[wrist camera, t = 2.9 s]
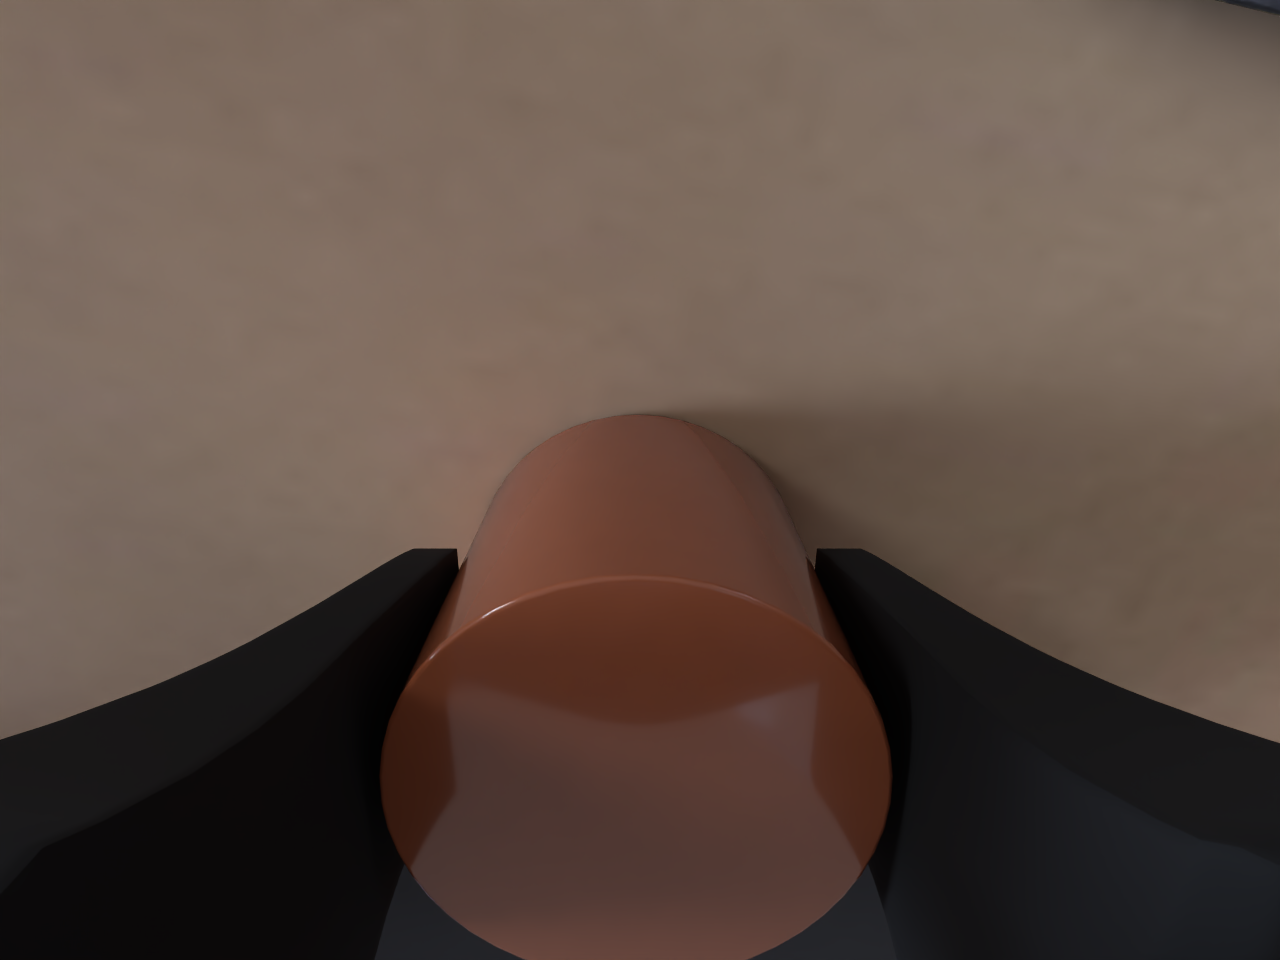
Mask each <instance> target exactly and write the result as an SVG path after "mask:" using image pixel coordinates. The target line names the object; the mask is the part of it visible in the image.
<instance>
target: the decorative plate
mask: <svg viewBox="0 0 1280 960" xmlns="http://www.w3.org/2000/svg"><path fill="white" fill-rule="evenodd" d="M1217 1H1221V2H1225V3H1230V4H1234V5H1238V6H1242V7H1246V8H1250V9H1254V10H1259V11H1263V12H1267V13H1271V14H1275V15H1279V16H1280V0H1217Z"/></svg>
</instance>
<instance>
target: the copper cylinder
mask: <svg viewBox="0 0 1280 960" xmlns="http://www.w3.org/2000/svg"><path fill="white" fill-rule="evenodd" d="M379 779H380V793H381V803H382V807H383V811H384V816H385V820H386V824H387V828H388V830H389V833H390V835H391V838H392V840H393V843H394V845H395V847H396V850H397V852H398V854H399V856H400V857H401V859H402V861H403V862H404V864H405V866H406V867H407V869H408V871H409V872H410V874H411V875H412V877H413V878H414V879H415V880H416V882H417V883H418V884H419V885H420V887H421V888H422V889H423V890H424V892H425V893H426V894H427V895H428V896H429V897H430V898H431V899H432V900H433V901H434V902H435V903H436V904H437V905H438V906H439V907H440V908H441V909H442V910H443V911H444V912H445V913H446V914H447V915H448V916H450V917H451V918H452V919H454V920H455V921H456V922H458V923H459V924H460V925H462V926H463V927H464V928H466V929H467V930H468V931H470V932H471V933H473V934H475V935H476V936H478V937H480V938H481V939H483V940H485V941H487V942H488V943H490V944H492V945H493V946H495V947H497V948H499V949H502V950H504V951H506V952H508V953H510V954H513V955H515V956H517V957H519V958H522V959H525V960H748V959H751V958H754V957H756V956H758V955H760V954H762V953H765V952H767V951H769V950H771V949H773V948H776V947H778V946H779V945H781V944H783V943H785V942H786V941H788V940H790V939H791V938H793V937H795V936H796V935H798V934H800V933H802V932H803V931H804V930H806V929H807V928H808V927H810V926H811V925H812V924H814V923H815V922H816V921H818V920H819V919H820V918H822V917H823V916H824V915H825V914H826V913H827V912H828V911H830V910H831V909H832V908H833V907H834V906H835V905H836V904H837V903H838V902H839V901H840V900H841V899H842V898H843V897H844V896H845V895H846V894H847V892H848V891H849V890H850V889H851V887H852V886H853V885H854V884H855V882H856V881H857V880H858V879H859V877H860V876H861V875H862V873H863V871H864V870H865V868H866V866H867V865H868V863H869V861H870V860H871V858H872V856H873V855H874V853H875V851H876V848H877V846H878V843H879V841H880V839H881V836H882V834H883V831H884V829H885V825H886V821H887V817H888V812H889V808H890V804H891V795H892V781H893V768H892V758H891V747H890V743H889V739H888V736H887V732H886V728H885V725H884V721H883V718H882V716H881V714H880V712H879V710H878V707H877V705H876V703H875V701H874V699H873V697H872V694H871V692H870V690H869V688H868V686H867V683H866V681H865V679H864V677H863V675H862V673H861V670H860V668H859V666H858V664H857V662H856V659H855V657H854V655H853V653H852V651H851V649H850V646H849V644H848V642H847V640H846V638H845V635H844V633H843V631H842V629H841V627H840V625H839V622H838V620H837V618H836V616H835V614H834V611H833V609H832V607H831V605H830V603H829V601H828V598H827V596H826V594H825V592H824V590H823V587H822V585H821V583H820V581H819V579H818V577H817V574H816V572H815V570H814V568H813V566H812V563H811V561H810V559H809V557H808V555H807V553H806V550H805V548H804V546H803V544H802V542H801V540H800V537H799V535H798V533H797V531H796V529H795V526H794V524H793V522H792V520H791V518H790V516H789V513H788V511H787V509H786V507H785V505H784V502H783V500H782V498H781V496H780V494H779V492H778V491H777V489H776V488H775V486H774V485H773V483H772V481H771V480H770V478H769V477H768V476H767V475H766V473H765V472H764V471H763V470H762V469H761V468H760V467H759V465H758V464H757V463H756V462H755V461H754V460H753V459H751V458H750V457H749V456H748V455H747V454H746V453H745V452H743V451H742V450H741V449H740V448H739V447H737V446H735V445H734V444H732V443H731V442H729V441H728V440H726V439H725V438H723V437H722V436H720V435H718V434H715V433H713V432H711V431H709V430H707V429H705V428H703V427H700V426H697V425H694V424H691V423H688V422H685V421H682V420H677V419H672V418H667V417H661V416H649V415H625V416H613V417H608V418H603V419H598V420H593V421H590V422H587V423H584V424H581V425H578V426H575V427H572V428H570V429H568V430H566V431H564V432H561V433H559V434H557V435H555V436H553V437H552V438H550V439H549V440H547V441H545V442H544V443H542V444H541V445H539V446H538V447H536V448H535V449H534V450H533V451H531V452H530V453H529V454H528V455H527V456H526V457H525V458H523V459H522V460H521V461H520V462H519V463H518V464H517V465H516V467H515V468H514V469H513V470H512V471H511V472H510V473H509V475H508V476H507V477H506V478H505V480H504V481H503V483H502V485H501V486H500V488H499V489H498V491H497V492H496V494H495V496H494V498H493V500H492V502H491V504H490V506H489V509H488V511H487V513H486V515H485V517H484V519H483V521H482V523H481V525H480V527H479V530H478V532H477V534H476V536H475V538H474V540H473V542H472V544H471V546H470V549H469V551H468V553H467V555H466V557H465V559H464V561H463V563H462V565H461V567H460V570H459V572H458V574H457V576H456V578H455V580H454V582H453V584H452V586H451V589H450V591H449V593H448V595H447V597H446V599H445V601H444V603H443V605H442V607H441V610H440V612H439V614H438V616H437V618H436V620H435V622H434V624H433V626H432V629H431V631H430V633H429V635H428V637H427V639H426V641H425V643H424V645H423V647H422V650H421V652H420V654H419V656H418V658H417V660H416V662H415V664H414V666H413V669H412V671H411V673H410V675H409V677H408V679H407V681H406V683H405V685H404V687H403V690H402V692H401V694H400V696H399V698H398V700H397V703H396V705H395V707H394V709H393V711H392V714H391V716H390V718H389V720H388V724H387V728H386V732H385V735H384V739H383V743H382V747H381V758H380V768H379Z"/></svg>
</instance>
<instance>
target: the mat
mask: <svg viewBox="0 0 1280 960" xmlns="http://www.w3.org/2000/svg"><path fill="white" fill-rule="evenodd" d="M375 960H525V959H522V958H519V957H517V956H515V955H513V954H510V953H508V952H506V951H504V950H502V949H499V948H497V947H495V946H493V945H492V944H490V943H488V942H487V941H485V940H483V939H481V938H480V937H478V936H476V935H475V934H473V933H471V932H470V931H468V930H467V929H466V928H464V927H463V926H462V925H460V924H459V923H458V922H456V921H455V920H454V919H452V918H451V917H450V916H448V915H447V914H446V913H445V912H444V911H443V910H442V909H441V908H440V907H439V906H438V905H437V904H436V903H435V902H434V901H433V900H432V899H431V898H430V897H429V896H428V895H427V894H426V893H425V892H424V890H423V889H422V888H421V887H420V885H419V884H418V883H417V882H416V880H415V879H414V878H413V877H412V875H411V874H410V872H409V871H408V869H407V867H406V866H405V864H404V867H403V870H402V872H401V875H400V877H399V880H398V883H397V886H396V889H395V892H394V895H393V898H392V901H391V904H390V907H389V910H388V913H387V916H386V920H385V923H384V927H383V931H382V934H381V938H380V942H379V945H378V949H377V953H376V956H375ZM748 960H897V957H896V953H895V950H894V946H893V942H892V938H891V935H890V931H889V927H888V923H887V919H886V916H885V912H884V909H883V906H882V903H881V900H880V897H879V894H878V891H877V888H876V885H875V882H874V879H873V876H872V874H871V871H870V868H869V866H868V865H867V866H866V868H865V870H864V871H863V873H862V875H861V876H860V877H859V879H858V880H857V881H856V882H855V884H854V885H853V886H852V887H851V889H850V890H849V891H848V892H847V894H846V895H845V896H844V897H843V898H842V899H841V900H840V901H839V902H838V903H837V904H836V905H835V906H834V907H833V908H832V909H831V910H830V911H828V912H827V913H826V914H825V915H824V916H823V917H822V918H820V919H819V920H818V921H816V922H815V923H814V924H812V925H811V926H810V927H808V928H807V929H806V930H804V931H803V932H802V933H800V934H798V935H796V936H795V937H793V938H791V939H790V940H788V941H786V942H785V943H783V944H781V945H779V946H778V947H776V948H773V949H771V950H769V951H767V952H765V953H762V954H760V955H758V956H756V957H754V958H751V959H748Z"/></svg>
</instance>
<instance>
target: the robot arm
mask: <svg viewBox="0 0 1280 960" xmlns="http://www.w3.org/2000/svg"><path fill="white" fill-rule="evenodd" d="M458 572H459V566H458V556H457V549H412V550H409V551H407V552H405V553H403V554H401V555H399V556H397V557H395V558H394V559H392V560H390V561H388V562H387V563H385V564H383V565H382V566H380V567H378V568H377V569H375V570H373V571H372V572H370V573H368V574H367V575H365V576H363V577H362V578H360V579H358V580H357V581H355V582H354V583H352V584H350V585H349V586H347V587H345V588H344V589H342V590H340V591H339V592H337V593H335V594H334V595H332V596H330V597H329V598H327V599H325V600H324V601H322V602H320V603H319V604H317V605H315V606H314V607H312V608H310V609H308V610H307V611H305V612H303V613H301V614H299V615H297V616H296V617H294V618H292V619H290V620H288V621H287V622H285V623H283V624H281V625H279V626H277V627H276V628H274V629H272V630H270V631H268V632H267V633H265V634H263V635H261V636H259V637H257V638H256V639H254V640H252V641H250V642H248V643H246V644H244V645H242V646H240V647H238V648H236V649H234V650H232V651H230V652H228V653H226V654H224V655H222V656H220V657H218V658H216V659H213V660H211V661H209V662H207V663H205V664H202V665H200V666H198V667H196V668H193V669H191V670H189V671H187V672H184V673H182V674H180V675H178V676H175V677H173V678H171V679H169V680H166V681H164V682H161V683H159V684H157V685H154V686H152V687H149V688H147V689H144V690H141V691H138V692H136V693H133V694H130V695H128V696H125V697H122V698H120V699H117V700H114V701H111V702H109V703H106V704H103V705H101V706H98V707H95V708H93V709H90V710H87V711H85V712H82V713H79V714H76V715H74V716H71V717H68V718H66V719H63V720H60V721H57V722H54V723H51V724H48V725H45V726H42V727H39V728H36V729H33V730H30V731H26V732H23V733H20V734H17V735H14V736H11V737H7V738H4V739H1V740H0V960H375V956H376V953H377V949H378V945H379V942H380V938H381V934H382V931H383V927H384V923H385V920H386V916H387V913H388V910H389V907H390V904H391V901H392V898H393V895H394V892H395V889H396V886H397V883H398V880H399V877H400V875H401V872H402V870H403V867H404V862H403V861H402V859H401V857H400V856H399V854H398V852H397V850H396V847H395V845H394V843H393V840H392V838H391V835H390V833H389V830H388V828H387V824H386V820H385V816H384V811H383V807H382V803H381V793H380V779H379V768H380V758H381V747H382V743H383V739H384V735H385V732H386V728H387V724H388V720H389V718H390V716H391V714H392V711H393V709H394V707H395V705H396V703H397V700H398V698H399V696H400V694H401V692H402V690H403V687H404V685H405V683H406V681H407V679H408V677H409V675H410V673H411V671H412V669H413V666H414V664H415V662H416V660H417V658H418V656H419V654H420V652H421V650H422V647H423V645H424V643H425V641H426V639H427V637H428V635H429V633H430V631H431V629H432V626H433V624H434V622H435V620H436V618H437V616H438V614H439V612H440V610H441V607H442V605H443V603H444V601H445V599H446V597H447V595H448V593H449V591H450V589H451V586H452V584H453V582H454V580H455V578H456V576H457V574H458ZM815 572H816V574H817V577H818V579H819V581H820V583H821V585H822V587H823V590H824V592H825V594H826V596H827V598H828V601H829V603H830V605H831V607H832V609H833V611H834V614H835V616H836V618H837V620H838V622H839V625H840V627H841V629H842V631H843V633H844V635H845V638H846V640H847V642H848V644H849V646H850V649H851V651H852V653H853V655H854V657H855V659H856V662H857V664H858V666H859V668H860V670H861V673H862V675H863V677H864V679H865V681H866V683H867V686H868V688H869V690H870V692H871V694H872V697H873V699H874V701H875V703H876V705H877V707H878V710H879V712H880V714H881V716H882V718H883V721H884V725H885V728H886V732H887V736H888V739H889V743H890V747H891V758H892V768H893V781H892V795H891V804H890V808H889V812H888V817H887V821H886V825H885V829H884V831H883V834H882V836H881V839H880V841H879V843H878V846H877V848H876V851H875V853H874V855H873V856H872V858H871V860H870V861H869V863H868V866H869V868H870V871H871V874H872V876H873V879H874V882H875V885H876V888H877V891H878V894H879V897H880V900H881V903H882V906H883V909H884V912H885V916H886V919H887V923H888V927H889V931H890V935H891V938H892V942H893V946H894V950H895V953H896V957H897V960H1280V743H1277V742H1274V741H1271V740H1267V739H1264V738H1261V737H1258V736H1255V735H1252V734H1249V733H1246V732H1243V731H1239V730H1236V729H1233V728H1230V727H1227V726H1224V725H1221V724H1218V723H1215V722H1212V721H1209V720H1207V719H1204V718H1201V717H1198V716H1196V715H1193V714H1190V713H1187V712H1185V711H1182V710H1179V709H1176V708H1174V707H1171V706H1168V705H1165V704H1162V703H1160V702H1157V701H1154V700H1151V699H1149V698H1146V697H1144V696H1141V695H1139V694H1136V693H1134V692H1131V691H1129V690H1126V689H1124V688H1121V687H1119V686H1116V685H1114V684H1112V683H1109V682H1107V681H1105V680H1103V679H1100V678H1098V677H1096V676H1094V675H1091V674H1089V673H1087V672H1085V671H1082V670H1080V669H1078V668H1076V667H1073V666H1071V665H1069V664H1067V663H1064V662H1062V661H1060V660H1058V659H1056V658H1054V657H1052V656H1049V655H1047V654H1045V653H1043V652H1041V651H1039V650H1037V649H1035V648H1033V647H1031V646H1029V645H1027V644H1026V643H1024V642H1022V641H1020V640H1018V639H1016V638H1014V637H1012V636H1011V635H1009V634H1007V633H1005V632H1003V631H1001V630H999V629H997V628H996V627H994V626H992V625H990V624H988V623H987V622H985V621H983V620H981V619H980V618H978V617H976V616H974V615H973V614H971V613H969V612H967V611H966V610H964V609H962V608H961V607H959V606H957V605H955V604H954V603H952V602H951V601H949V600H947V599H946V598H944V597H942V596H941V595H939V594H937V593H936V592H934V591H932V590H931V589H929V588H928V587H926V586H924V585H923V584H921V583H920V582H918V581H916V580H915V579H913V578H912V577H910V576H908V575H907V574H905V573H903V572H902V571H900V570H899V569H897V568H895V567H894V566H892V565H890V564H889V563H887V562H885V561H884V560H882V559H880V558H879V557H877V556H875V555H873V554H871V553H869V552H867V551H865V550H863V549H817V554H816V565H815Z"/></svg>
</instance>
